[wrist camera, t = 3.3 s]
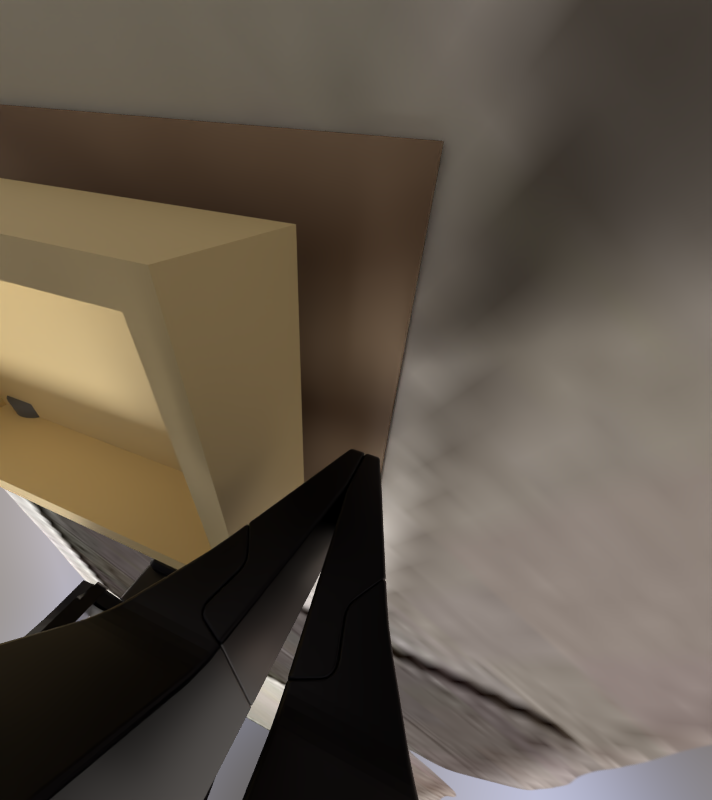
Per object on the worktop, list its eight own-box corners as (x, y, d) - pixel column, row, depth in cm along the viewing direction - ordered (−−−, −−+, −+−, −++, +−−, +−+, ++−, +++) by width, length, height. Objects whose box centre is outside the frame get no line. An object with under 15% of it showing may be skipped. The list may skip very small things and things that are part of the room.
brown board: (372, 518, 15) (370, 524, 15) (-64, 360, 22) (-70, 362, 22) (443, 141, 7) (441, 141, 7) (-293, 80, 14) (-307, 79, 14)
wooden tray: (315, 485, 14) (248, 603, 11) (48, 391, 18) (-75, 451, 14) (316, 218, 8) (148, 264, 4) (-97, 156, 12) (-391, 150, 8)
